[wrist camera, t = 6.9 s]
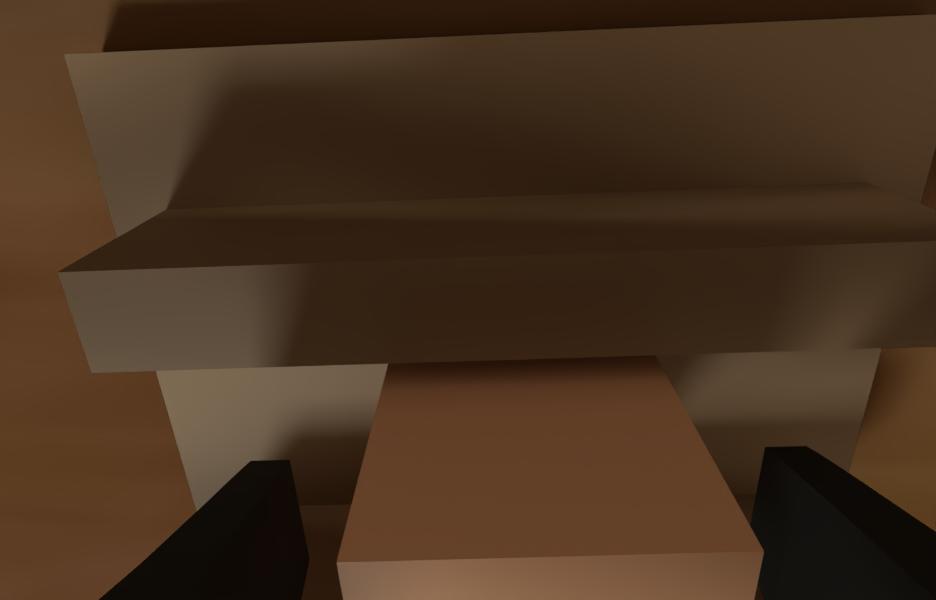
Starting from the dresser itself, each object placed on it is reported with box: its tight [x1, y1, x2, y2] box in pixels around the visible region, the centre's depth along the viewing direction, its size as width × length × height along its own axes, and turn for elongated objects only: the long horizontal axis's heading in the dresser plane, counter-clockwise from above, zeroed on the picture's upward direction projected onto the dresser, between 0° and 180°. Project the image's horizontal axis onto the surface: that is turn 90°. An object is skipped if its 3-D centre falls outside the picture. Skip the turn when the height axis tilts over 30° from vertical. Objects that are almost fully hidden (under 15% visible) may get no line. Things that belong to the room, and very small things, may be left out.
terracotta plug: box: [336, 355, 764, 600], centre depth 9 cm, size 4×4×6 cm
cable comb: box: [58, 14, 936, 600], centre depth 12 cm, size 20×14×4 cm
